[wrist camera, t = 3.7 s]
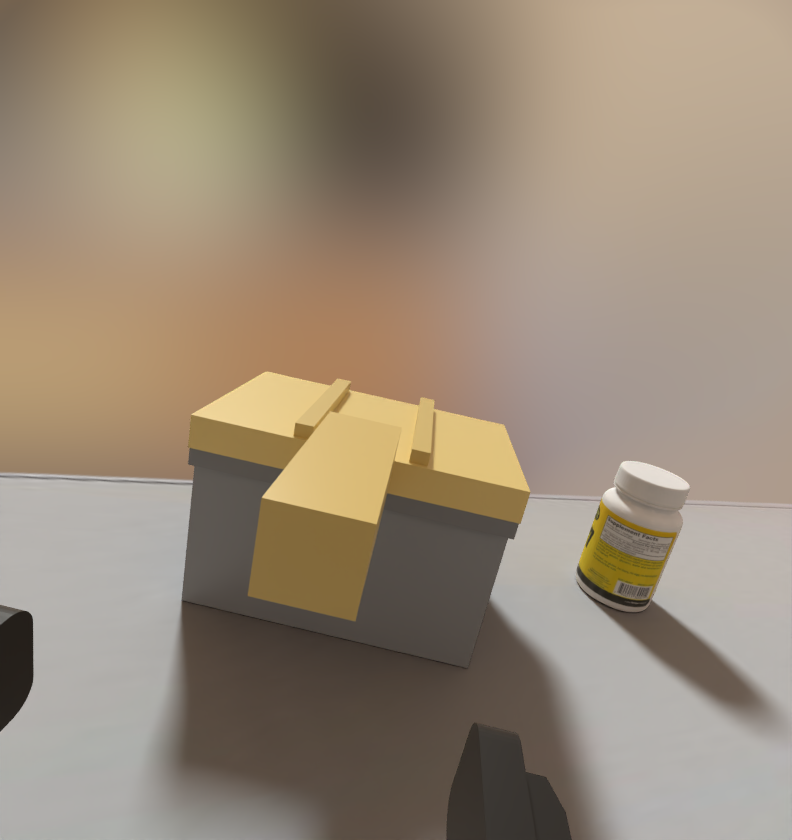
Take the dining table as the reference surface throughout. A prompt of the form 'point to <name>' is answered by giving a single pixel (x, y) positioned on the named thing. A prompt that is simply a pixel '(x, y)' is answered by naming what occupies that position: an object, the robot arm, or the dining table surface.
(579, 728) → the dining table surface
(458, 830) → the robot arm
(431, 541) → the grey box
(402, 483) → the lid
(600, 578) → the supplement bottle
